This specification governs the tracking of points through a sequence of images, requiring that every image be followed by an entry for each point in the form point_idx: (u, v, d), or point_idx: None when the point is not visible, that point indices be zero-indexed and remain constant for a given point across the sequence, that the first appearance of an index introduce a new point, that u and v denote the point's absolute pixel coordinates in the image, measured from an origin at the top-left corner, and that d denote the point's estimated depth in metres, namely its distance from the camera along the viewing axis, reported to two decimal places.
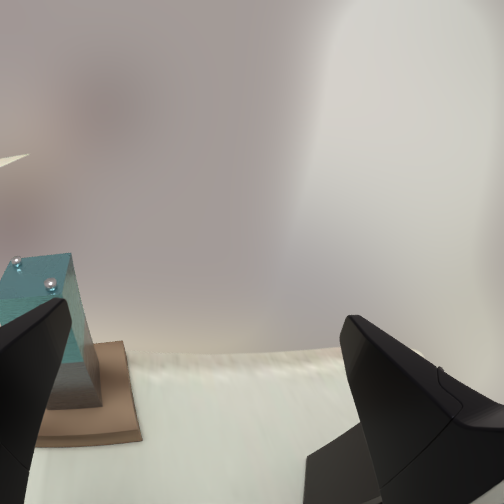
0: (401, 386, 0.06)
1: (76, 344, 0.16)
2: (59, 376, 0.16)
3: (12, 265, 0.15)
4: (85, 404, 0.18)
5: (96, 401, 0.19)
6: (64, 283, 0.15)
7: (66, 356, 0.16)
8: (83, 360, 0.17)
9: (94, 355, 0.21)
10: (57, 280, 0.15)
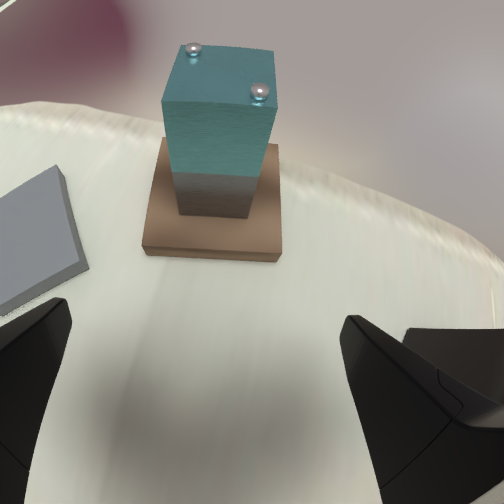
0: (401, 386, 0.06)
1: (262, 160, 0.15)
2: (216, 186, 0.18)
3: (186, 53, 0.13)
4: (229, 214, 0.21)
5: (244, 213, 0.21)
6: (275, 92, 0.12)
7: (241, 169, 0.16)
8: None
9: None
10: None
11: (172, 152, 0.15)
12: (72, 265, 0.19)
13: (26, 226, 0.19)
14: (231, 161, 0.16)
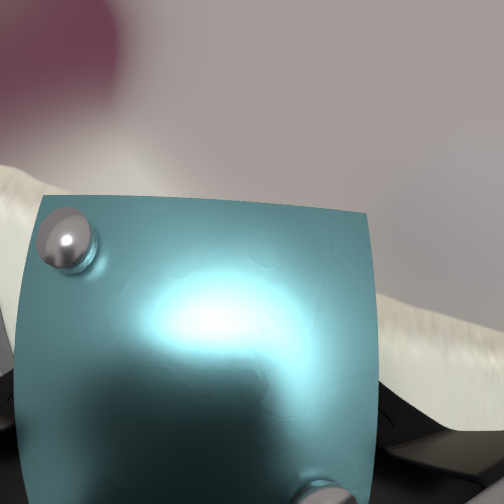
0: None
1: None
2: None
3: None
4: None
5: None
6: (369, 465, 0.03)
7: None
8: None
9: None
10: (342, 457, 0.03)
11: None
12: None
13: None
14: None
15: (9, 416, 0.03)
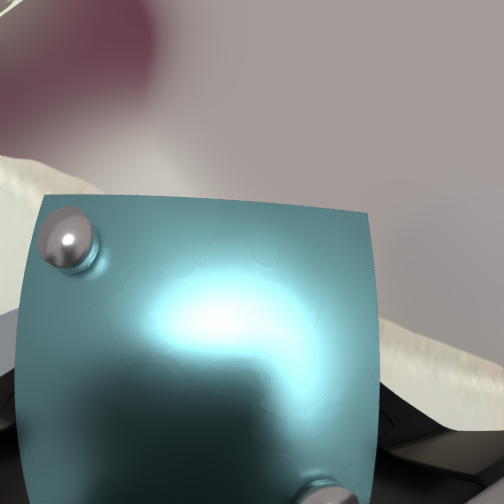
0: None
1: None
2: None
3: None
4: None
5: None
6: (370, 464, 0.03)
7: None
8: None
9: None
10: (343, 456, 0.03)
11: None
12: None
13: None
14: None
15: (9, 416, 0.03)
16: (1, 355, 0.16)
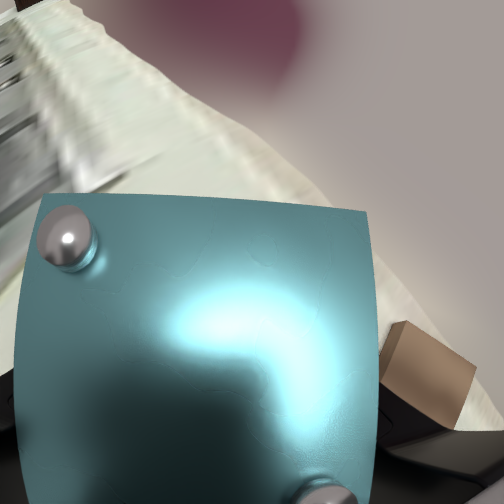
0: None
1: None
2: None
3: None
4: None
5: None
6: (369, 463, 0.03)
7: None
8: None
9: None
10: (342, 455, 0.03)
11: None
12: None
13: None
14: None
15: (9, 416, 0.03)
16: None
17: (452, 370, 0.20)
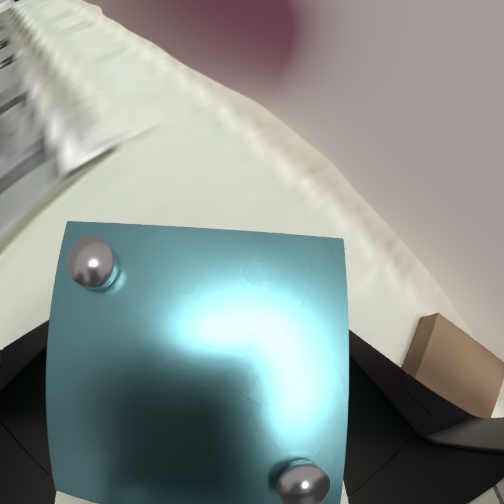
0: (365, 392, 0.06)
1: None
2: None
3: None
4: None
5: None
6: (342, 450, 0.04)
7: None
8: None
9: None
10: (318, 441, 0.04)
11: None
12: None
13: None
14: None
15: None
16: None
17: (484, 369, 0.16)
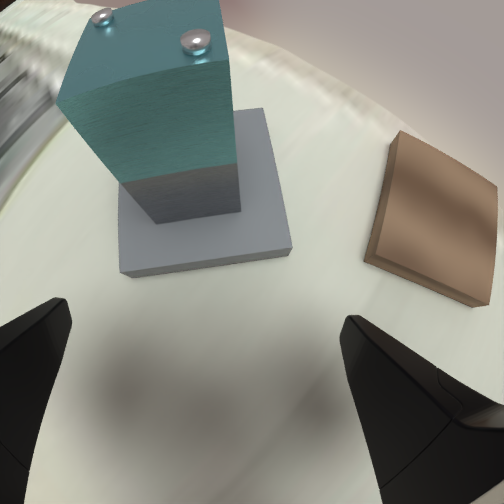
0: (401, 386, 0.06)
1: (233, 140, 0.10)
2: (186, 186, 0.13)
3: (94, 26, 0.07)
4: (217, 211, 0.17)
5: (235, 207, 0.16)
6: (224, 37, 0.07)
7: (209, 158, 0.11)
8: (236, 160, 0.12)
9: None
10: None
11: (107, 161, 0.10)
12: (279, 250, 0.17)
13: None
14: (191, 152, 0.10)
15: None
16: None
17: (470, 184, 0.18)
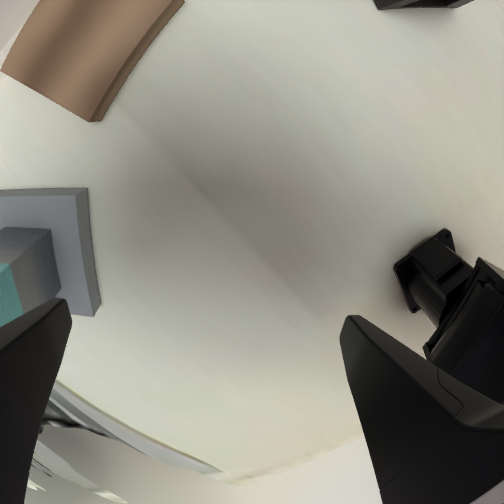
0: (401, 386, 0.06)
1: None
2: (29, 286, 0.15)
3: None
4: (50, 249, 0.18)
5: (46, 237, 0.17)
6: None
7: (8, 285, 0.13)
8: (8, 264, 0.13)
9: None
10: None
11: None
12: (77, 204, 0.18)
13: None
14: (5, 300, 0.13)
15: None
16: None
17: None
